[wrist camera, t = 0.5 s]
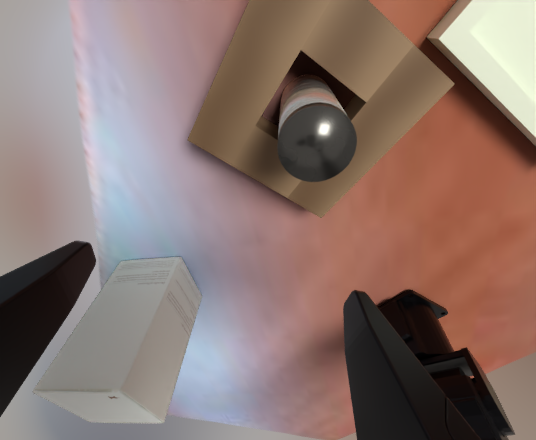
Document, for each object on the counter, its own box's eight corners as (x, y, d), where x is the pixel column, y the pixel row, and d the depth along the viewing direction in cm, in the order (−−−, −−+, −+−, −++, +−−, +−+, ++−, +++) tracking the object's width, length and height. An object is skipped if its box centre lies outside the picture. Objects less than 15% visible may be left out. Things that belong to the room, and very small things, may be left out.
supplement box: (118, 259, 28) (25, 392, 18) (183, 254, 27) (121, 393, 17) (148, 299, 32) (86, 424, 22) (204, 297, 31) (165, 426, 21)
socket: (433, 75, 16) (455, 83, 14) (318, 200, 22) (321, 217, 20) (285, -64, 12) (285, -80, 10) (197, 127, 18) (187, 140, 16)
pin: (343, 95, 17) (374, 136, 11) (310, 138, 18) (321, 193, 13) (301, 62, 16) (309, 87, 10) (270, 111, 17) (262, 157, 12)
